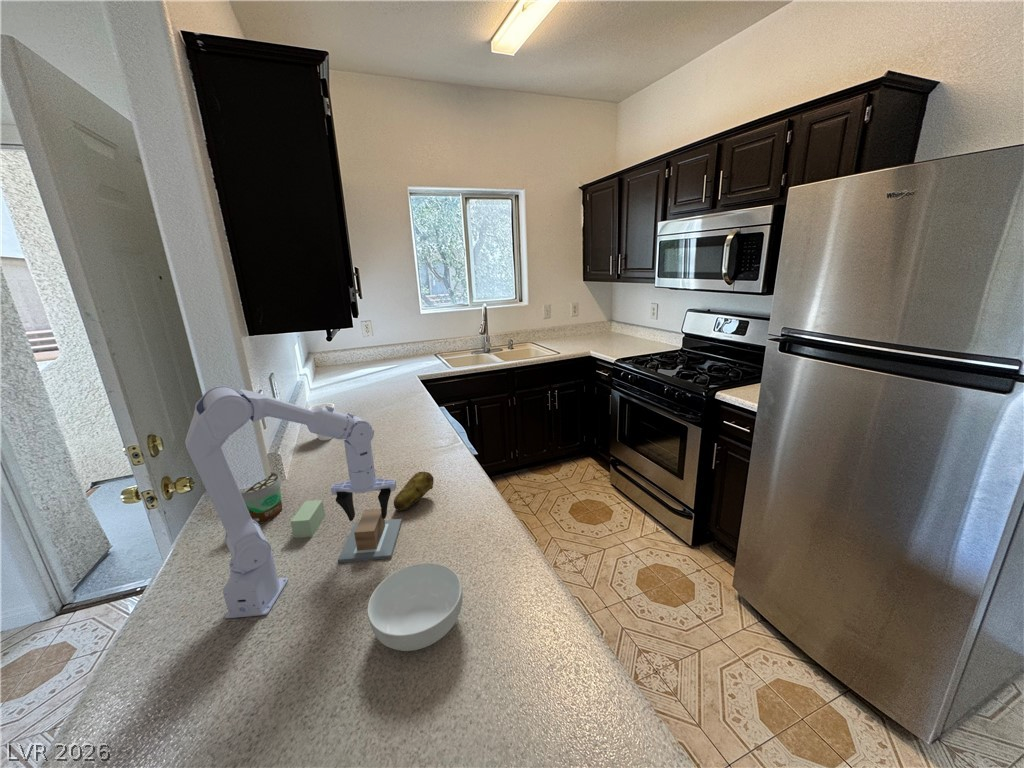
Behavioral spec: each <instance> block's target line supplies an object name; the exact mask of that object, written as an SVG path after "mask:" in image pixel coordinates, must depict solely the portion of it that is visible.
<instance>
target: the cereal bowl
mask: <svg viewBox="0 0 1024 768" xmlns="http://www.w3.org/2000/svg"><path fill="white" fill-rule="evenodd" d="M462 603H463V586H462V580H461V579H460V577H459V575H458V573H456V572H455V571H454V570H453V569H452V568H450V567H448V566H447V565H445V564H440V563H437V562H420V563H418V562H417V563H415V564H411V565H407V566H404V567H401V568H400V569H398V570H396V571H394V572H392V573H391V574H389V575H388V576H387V577H386V578H384V579H383V580H382V581H381V582H380V583H379V584H378V585H377V587H376V588H375V589H374V591H372V594H371V596H370V598H369V601H368V603H367V619H368V622H369V626H370V629H371V631H372V633H373V634H374V636H375V638H376V639H377V640H378V641H379V642H380V643H381V644H383V645H384V646H386V647H388V648H390V649H392V650H396V651H403V652H411V651H417V650H421V649H424V648H427V647H429V646H432V645H433V644H435V643H436V642H438V641H439V640H441V639H443V638H444V636H446V635H447V633H449V632H450V630H451V629H452V628H453V627H454V625H455V623H456V622H457V620H458V619H459V615H460V614H461V610H462V606H463V604H462Z"/></svg>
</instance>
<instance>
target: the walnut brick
mask: <svg viewBox="0 0 1024 768" xmlns="http://www.w3.org/2000/svg"><path fill="white" fill-rule="evenodd" d="M385 520H386V519H382V515H381V508H374V509H365V510H364V511H363V513H362V516H361V517H360V519H359V521H358V522H359V524H358V526H357V528H356V530H355V532H354V534H355V540H356V546H357V551H359V550H372V549H377V547H378V544H379V542H380V539H381V536H382V533H383V531H384V528H385Z"/></svg>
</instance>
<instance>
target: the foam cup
mask: <svg viewBox="0 0 1024 768" xmlns="http://www.w3.org/2000/svg"><path fill="white" fill-rule="evenodd" d="M327 405H328V406H331V407H333V408H334V411H336V407H335V404H334V403H328V402H326V403H325V402H324V403H320V404H319V403H318V404H313V405H312V406H310V407H309V408H308V409H309V410H312V409H315V408H317V407H324V408H326V406H327ZM316 435H317V438H318V440H319V441H329V440H332V439H333V438H331V437H327V436H323V435H319V434H316Z"/></svg>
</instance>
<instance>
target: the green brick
mask: <svg viewBox="0 0 1024 768" xmlns="http://www.w3.org/2000/svg"><path fill="white" fill-rule="evenodd" d="M303 502H304V503H303V504H302V505H301V507H300V508H299V509H298V510H297V512H296V513H295V515H294V516H293V517H292V519H291V520H290V521H289V522H290V525H291V530H292V534H293V538H294V539H298V538H299V539H300V538H301V539H302V538H310V537H311V538H312V537H314V535H315V533H316V532H317V530H318V528H319V526H320V525H321V523H322V522H323V520H324V519H325V517H326V513H325V512H326V511H325V507H324V501H323V499H320V500H319V499H318V500H306V501H303Z"/></svg>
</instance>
